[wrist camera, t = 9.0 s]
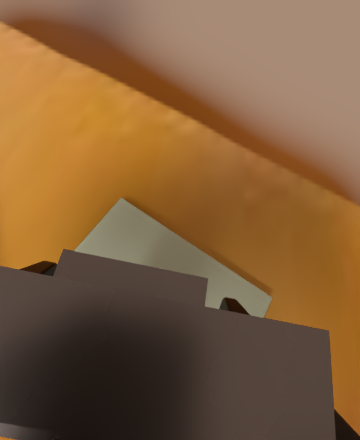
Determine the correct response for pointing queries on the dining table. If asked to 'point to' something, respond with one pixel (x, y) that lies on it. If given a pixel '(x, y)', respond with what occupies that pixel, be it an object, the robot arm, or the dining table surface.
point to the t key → (151, 360)
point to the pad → (168, 255)
